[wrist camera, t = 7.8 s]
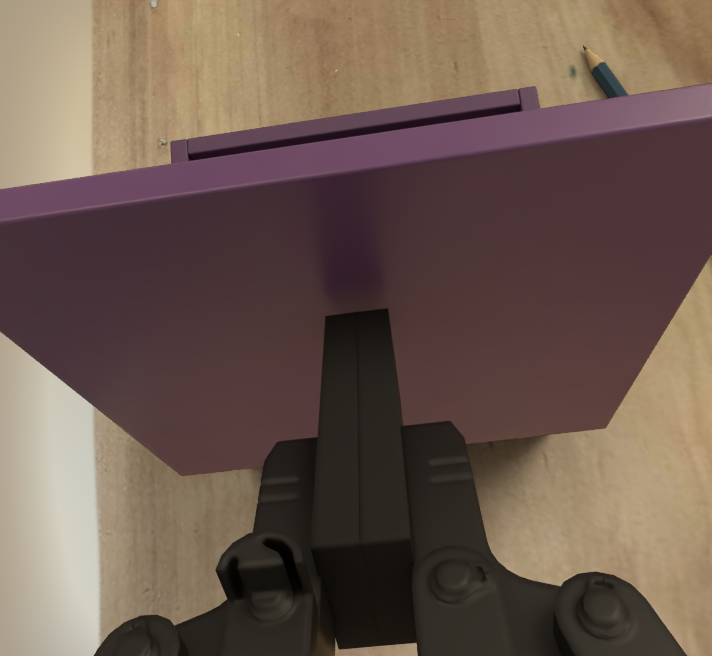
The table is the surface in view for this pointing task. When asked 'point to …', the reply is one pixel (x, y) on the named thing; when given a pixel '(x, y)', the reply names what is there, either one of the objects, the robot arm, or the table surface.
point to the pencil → (604, 76)
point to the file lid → (370, 274)
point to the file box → (355, 124)
